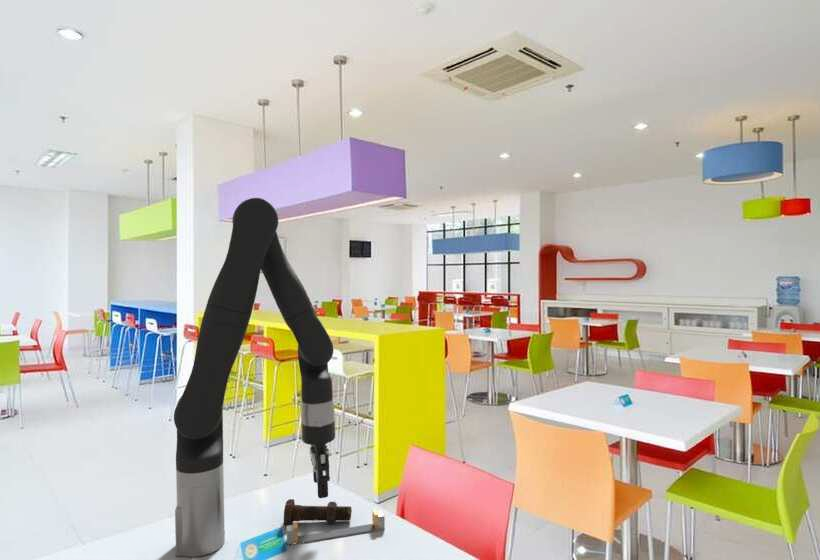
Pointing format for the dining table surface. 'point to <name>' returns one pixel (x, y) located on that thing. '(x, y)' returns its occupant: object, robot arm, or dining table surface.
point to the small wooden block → (378, 520)
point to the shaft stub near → (292, 533)
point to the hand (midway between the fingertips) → (320, 489)
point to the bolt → (315, 513)
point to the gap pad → (336, 533)
